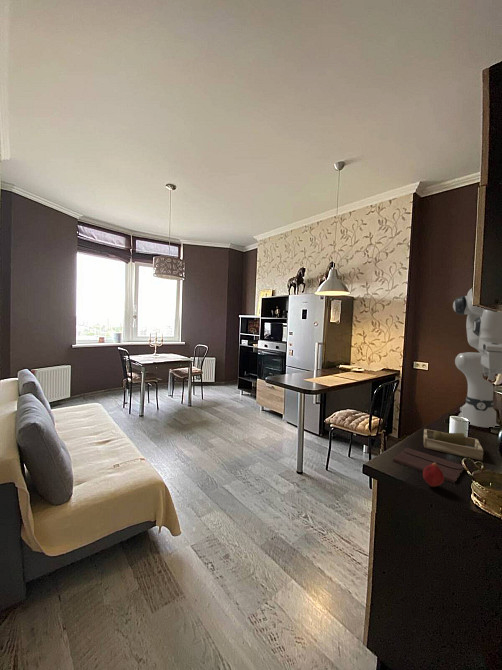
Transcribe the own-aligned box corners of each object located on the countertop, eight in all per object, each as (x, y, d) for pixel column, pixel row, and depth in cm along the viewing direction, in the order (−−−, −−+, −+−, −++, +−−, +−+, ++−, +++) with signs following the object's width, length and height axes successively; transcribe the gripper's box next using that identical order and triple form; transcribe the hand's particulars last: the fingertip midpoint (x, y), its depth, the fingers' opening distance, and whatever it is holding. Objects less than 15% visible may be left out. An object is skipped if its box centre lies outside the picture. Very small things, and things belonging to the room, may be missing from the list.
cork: (466, 440, 122) (435, 437, 126) (463, 450, 125) (433, 446, 129) (462, 430, 127) (433, 426, 131) (460, 439, 129) (431, 436, 133)
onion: (426, 490, 93) (428, 465, 92) (419, 480, 99) (420, 457, 98) (446, 492, 92) (448, 468, 92) (437, 482, 98) (439, 459, 97)
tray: (423, 437, 138) (424, 428, 138) (476, 447, 128) (477, 439, 128) (423, 447, 126) (424, 438, 126) (482, 460, 116) (483, 450, 116)
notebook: (454, 485, 98) (454, 479, 98) (392, 462, 112) (393, 457, 112) (463, 470, 108) (464, 465, 108) (406, 451, 122) (406, 446, 122)
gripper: (478, 344, 135) (475, 373, 136) (486, 346, 117) (483, 380, 118) (495, 345, 132) (492, 375, 133) (507, 348, 114) (504, 383, 115)
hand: (488, 378), depth 125 cm, fingers open, 8 cm apart
